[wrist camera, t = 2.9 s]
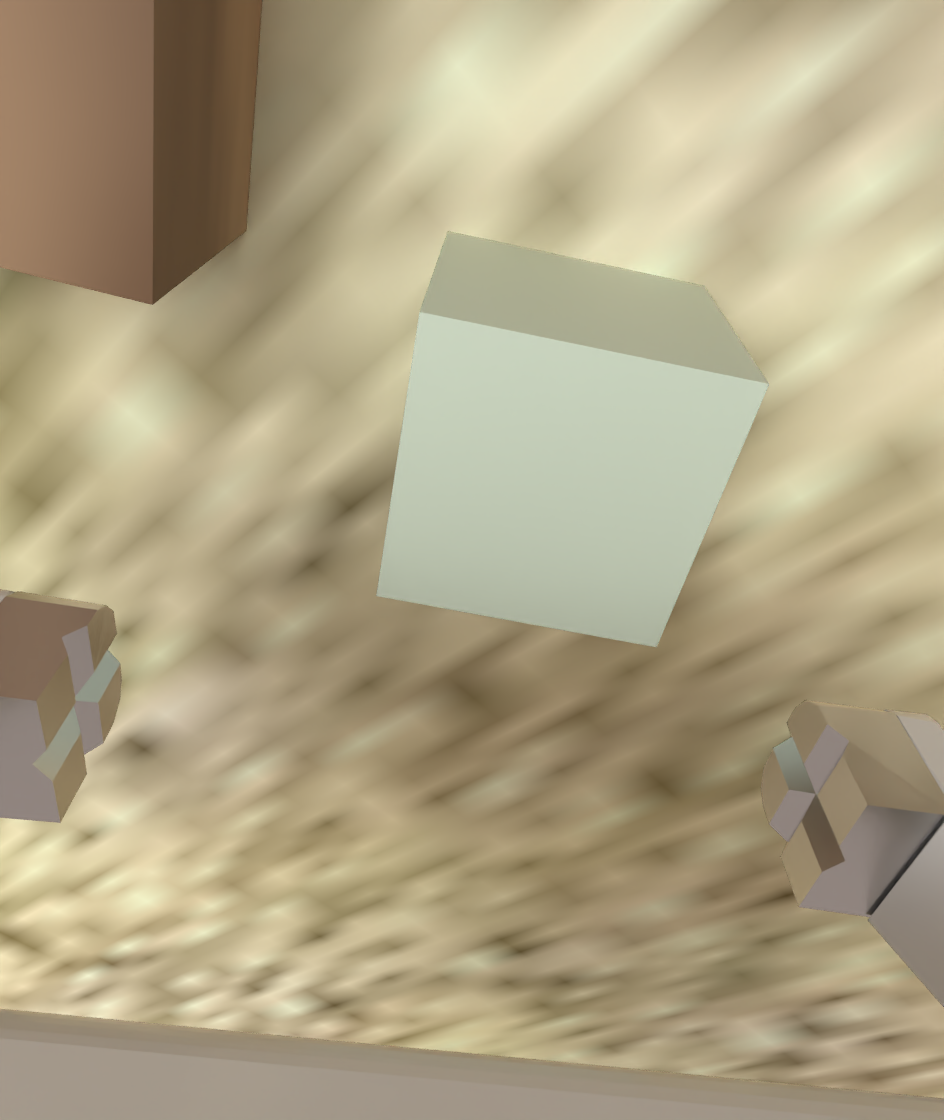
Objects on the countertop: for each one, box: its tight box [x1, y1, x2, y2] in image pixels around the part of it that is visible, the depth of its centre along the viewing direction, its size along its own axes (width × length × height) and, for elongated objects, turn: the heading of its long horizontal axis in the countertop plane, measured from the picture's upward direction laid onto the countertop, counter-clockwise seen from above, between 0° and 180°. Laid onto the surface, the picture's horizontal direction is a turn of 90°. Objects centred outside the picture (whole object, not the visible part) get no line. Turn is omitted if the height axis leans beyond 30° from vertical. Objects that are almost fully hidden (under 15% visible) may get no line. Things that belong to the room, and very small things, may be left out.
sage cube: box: [376, 231, 769, 647], centre depth 14 cm, size 5×5×5 cm
